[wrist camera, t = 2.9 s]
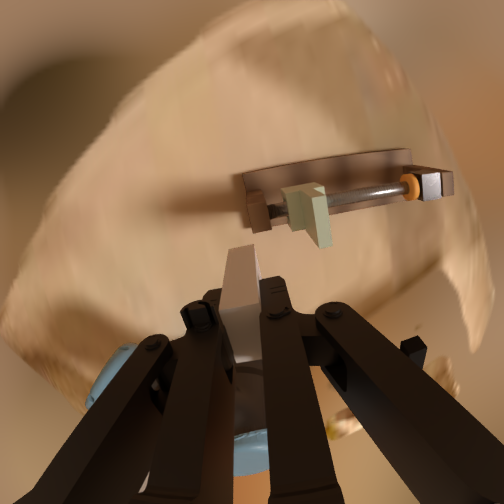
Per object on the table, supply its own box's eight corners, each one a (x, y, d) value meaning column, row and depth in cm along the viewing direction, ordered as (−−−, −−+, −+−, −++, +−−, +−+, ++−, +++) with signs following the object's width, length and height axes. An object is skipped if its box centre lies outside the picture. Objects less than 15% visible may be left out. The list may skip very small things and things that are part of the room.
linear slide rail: (254, 227, 40) (257, 255, 30) (242, 173, 38) (241, 181, 27) (411, 197, 39) (454, 213, 28) (405, 148, 36) (451, 151, 26)
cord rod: (261, 225, 32) (262, 232, 29) (255, 197, 31) (256, 202, 28) (435, 192, 30) (449, 196, 27) (433, 168, 29) (448, 171, 26)
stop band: (400, 198, 31) (414, 203, 28) (398, 173, 30) (411, 175, 27) (407, 197, 31) (420, 201, 28) (404, 172, 30) (418, 175, 27)
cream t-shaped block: (287, 223, 32) (303, 252, 23) (280, 186, 31) (294, 201, 22) (320, 217, 32) (347, 242, 23) (314, 180, 30) (341, 192, 21)
